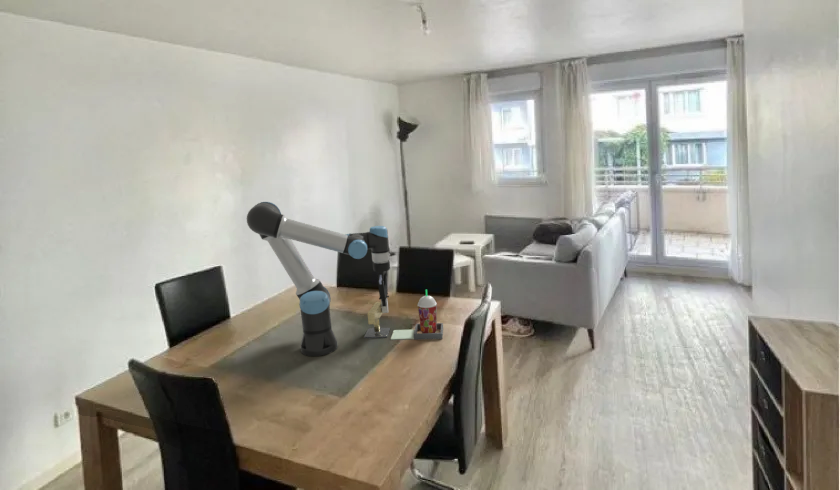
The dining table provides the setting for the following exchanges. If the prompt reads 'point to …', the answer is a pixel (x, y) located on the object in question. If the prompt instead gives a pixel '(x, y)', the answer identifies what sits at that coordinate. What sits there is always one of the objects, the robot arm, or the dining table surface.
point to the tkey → (375, 316)
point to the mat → (402, 334)
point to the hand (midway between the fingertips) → (385, 312)
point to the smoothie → (427, 314)
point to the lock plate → (377, 333)
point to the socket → (428, 335)
